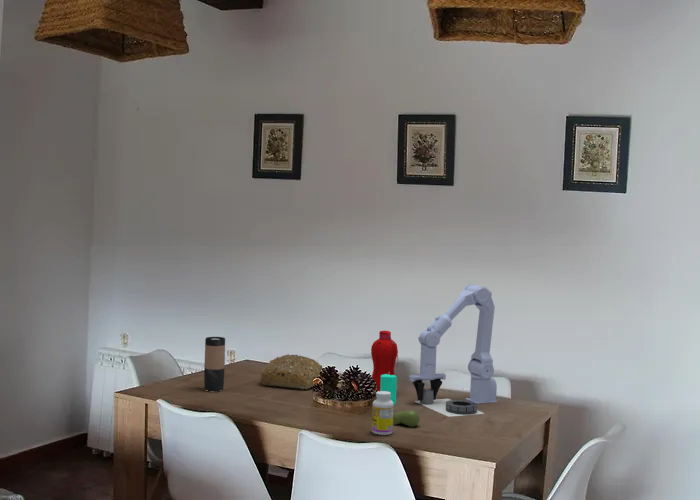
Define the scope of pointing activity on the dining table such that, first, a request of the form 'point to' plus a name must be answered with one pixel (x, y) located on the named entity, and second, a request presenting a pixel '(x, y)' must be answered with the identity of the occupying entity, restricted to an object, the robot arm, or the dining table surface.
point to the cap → (427, 396)
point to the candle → (389, 385)
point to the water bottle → (383, 356)
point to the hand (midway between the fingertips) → (426, 399)
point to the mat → (443, 407)
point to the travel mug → (214, 363)
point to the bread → (291, 372)
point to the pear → (406, 418)
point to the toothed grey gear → (461, 407)
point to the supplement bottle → (382, 414)
